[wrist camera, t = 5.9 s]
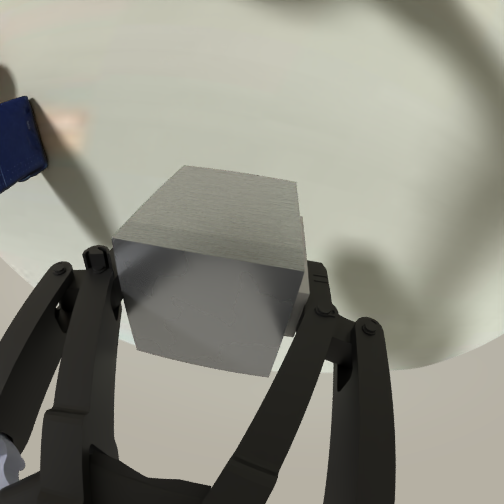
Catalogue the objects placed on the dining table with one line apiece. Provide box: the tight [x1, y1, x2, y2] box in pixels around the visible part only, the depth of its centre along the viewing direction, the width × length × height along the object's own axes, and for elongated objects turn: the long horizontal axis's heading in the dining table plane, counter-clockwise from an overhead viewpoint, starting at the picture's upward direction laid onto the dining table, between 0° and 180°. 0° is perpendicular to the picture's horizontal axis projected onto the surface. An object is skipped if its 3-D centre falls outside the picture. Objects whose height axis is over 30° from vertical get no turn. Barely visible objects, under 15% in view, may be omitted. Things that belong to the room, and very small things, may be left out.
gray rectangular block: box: [112, 165, 305, 377], centre depth 14 cm, size 6×6×8 cm
